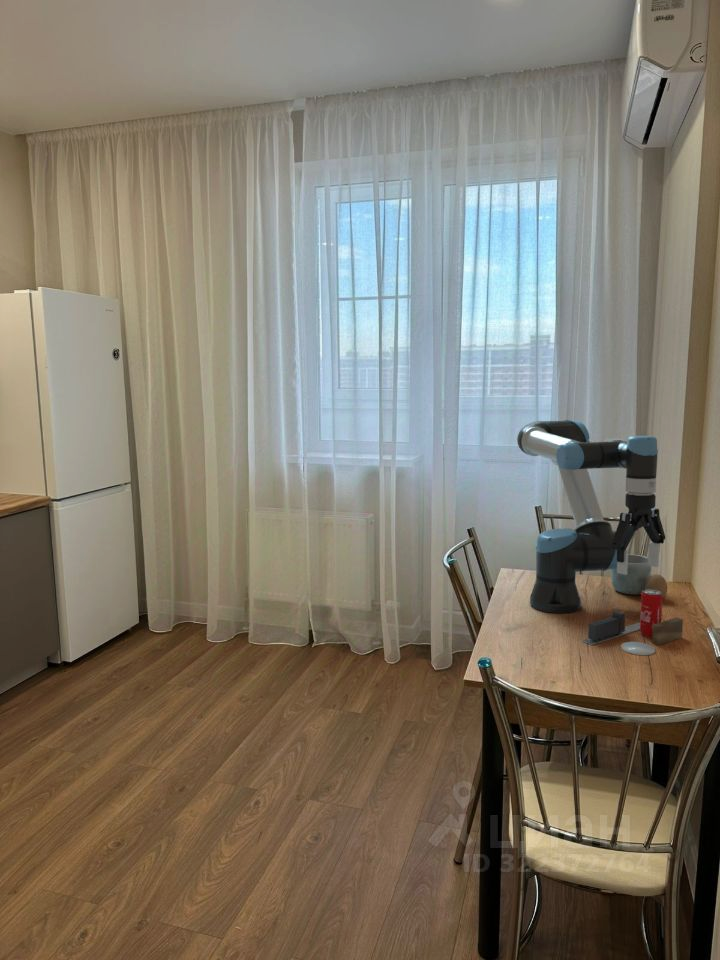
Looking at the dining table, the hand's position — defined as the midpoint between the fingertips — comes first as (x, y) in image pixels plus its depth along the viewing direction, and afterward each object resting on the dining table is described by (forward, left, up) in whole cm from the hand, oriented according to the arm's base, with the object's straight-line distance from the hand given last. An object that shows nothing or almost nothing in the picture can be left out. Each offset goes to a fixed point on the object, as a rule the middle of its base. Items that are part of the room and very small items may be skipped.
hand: (638, 569), depth 183 cm
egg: (-12, +27, -17) cm, 34 cm away
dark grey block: (0, -12, -17) cm, 21 cm away
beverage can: (+5, -1, -17) cm, 18 cm away
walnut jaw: (+10, -1, -17) cm, 20 cm away
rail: (0, -7, -17) cm, 18 cm away
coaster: (+10, -12, -17) cm, 23 cm away
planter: (-22, +28, -17) cm, 40 cm away
